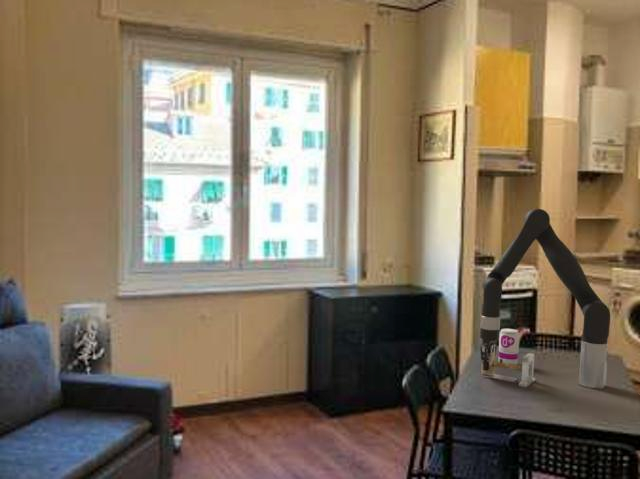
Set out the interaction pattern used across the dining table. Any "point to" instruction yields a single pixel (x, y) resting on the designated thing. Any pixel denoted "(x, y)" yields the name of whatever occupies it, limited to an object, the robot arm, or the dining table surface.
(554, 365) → the dining table surface
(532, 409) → the dining table surface
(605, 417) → the dining table surface
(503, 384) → the dining table surface
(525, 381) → the white stand
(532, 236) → the robot arm
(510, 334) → the supplement can
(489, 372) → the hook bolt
